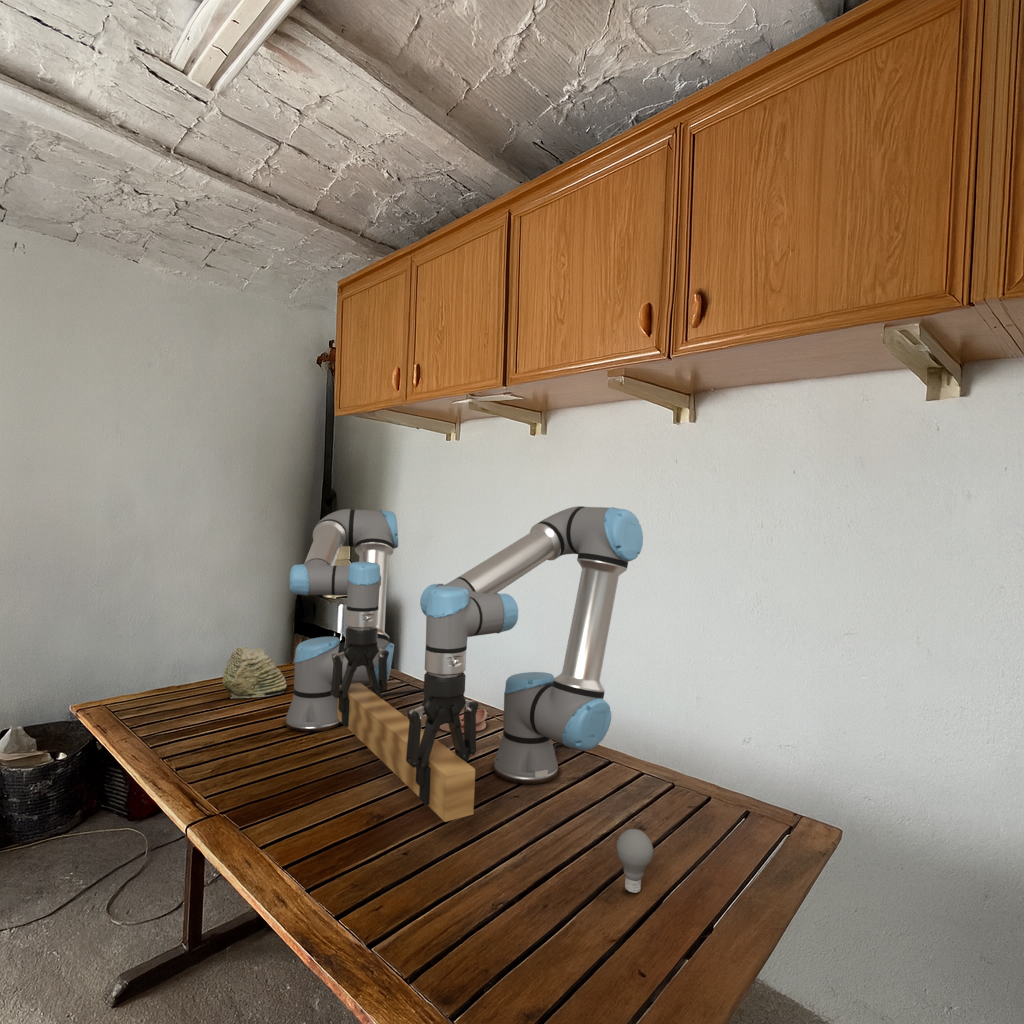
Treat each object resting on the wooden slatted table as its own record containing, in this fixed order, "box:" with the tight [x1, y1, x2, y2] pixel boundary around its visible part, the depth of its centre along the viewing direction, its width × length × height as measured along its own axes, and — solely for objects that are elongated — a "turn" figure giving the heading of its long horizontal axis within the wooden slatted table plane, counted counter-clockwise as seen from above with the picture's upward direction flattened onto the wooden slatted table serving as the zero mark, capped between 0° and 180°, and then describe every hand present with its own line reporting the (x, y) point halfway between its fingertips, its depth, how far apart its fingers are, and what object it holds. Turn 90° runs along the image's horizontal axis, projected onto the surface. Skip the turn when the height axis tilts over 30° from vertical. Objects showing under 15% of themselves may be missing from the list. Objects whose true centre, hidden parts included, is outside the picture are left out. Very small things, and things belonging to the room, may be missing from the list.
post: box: [337, 683, 476, 823], centre depth 134 cm, size 58×6×8 cm, turn 34°
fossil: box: [222, 646, 288, 699], centre depth 198 cm, size 9×18×15 cm, turn 132°
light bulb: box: [615, 828, 654, 894], centre depth 106 cm, size 6×6×10 cm
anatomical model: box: [439, 708, 488, 734], centre depth 178 cm, size 13×4×12 cm
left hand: (358, 722), depth 152 cm, fingers closed on post, 6 cm apart
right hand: (440, 797), depth 116 cm, fingers closed on post, 6 cm apart
